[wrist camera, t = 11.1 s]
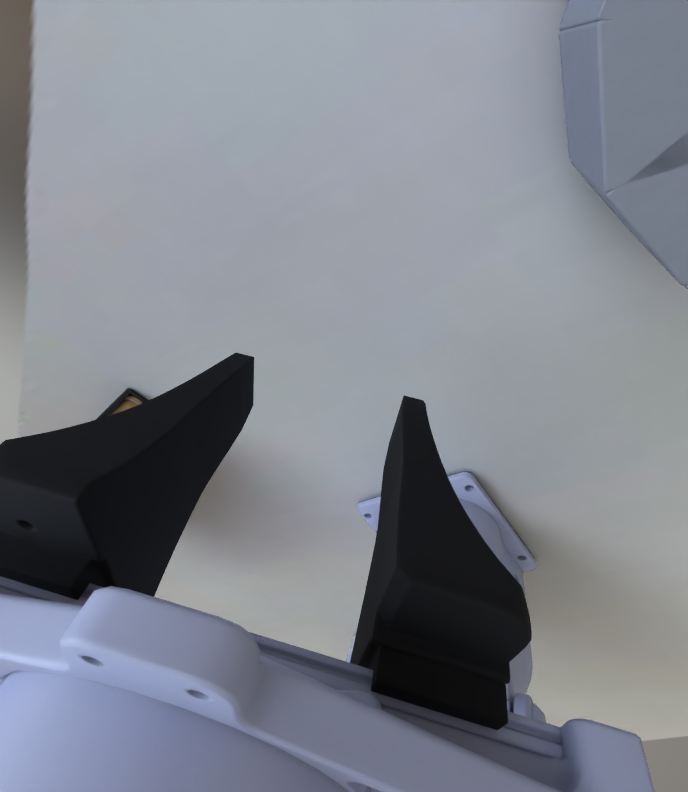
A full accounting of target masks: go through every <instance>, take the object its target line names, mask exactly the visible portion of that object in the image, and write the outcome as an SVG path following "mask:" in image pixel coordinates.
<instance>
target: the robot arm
mask: <svg viewBox="0 0 688 792" xmlns="http://www.w3.org/2000/svg"><path fill="white" fill-rule="evenodd" d="M253 383H254V357H251V356H247V355H243V354H239V353H235V354H233V355H231V356H229V357H228V358H226V359H224V360H223V361H221V362H219V363H218V364H216V365H214V366H213V367H211V368H209V369H208V370H206V371H204V372H203V373H201V374H199V375H197V376H196V377H194V378H192V379H191V380H189V381H187V382H185V383H183V384H181V385H179V386H177V387H175V388H174V389H172V390H170V391H168V392H166V393H164V394H162V395H160V396H158V397H156V398H153V399H151V400H149V401H147V402H144V403H142V404H139V405H137V406H134V407H132V408H129V409H127V410H124V411H121V412H118V413H115V414H112V415H109V416H106V417H103V418H100V419H97V420H94V421H91V422H87V423H84V424H80V425H76V426H72V427H68V428H64V429H60V430H56V431H51V432H47V433H42V434H37V435H31V436H26V437H21V438H15V439H9V440H5V441H4V442H3V443H2V444H0V792H654V788H653V784H652V781H651V777H650V773H649V769H648V765H647V761H646V758H645V753H644V750H643V746H642V742H641V738H640V737H639V736H637V735H636V734H634V733H631V732H628V731H625V730H621V729H618V728H615V727H611V726H608V725H605V724H602V723H598V722H595V721H591V720H586V719H572V720H569V721H567V722H566V723H565V724H564V725H563V726H562V727H558V726H554V725H551V724H548V723H546V719H545V715H544V713H543V712H542V711H541V710H540V709H539V707H538V706H537V705H536V704H533V701H532V698H531V697H530V696H529V695H527V694H525V693H526V691H527V689H528V687H529V684H530V680H531V675H532V655H531V646H530V641H531V623H530V616H529V612H528V608H527V603H526V599H525V592H524V584H523V575H522V572H526V571H532V570H534V569H536V567H537V564H536V560H535V559H534V558H533V556H532V555H531V554H530V552H529V551H528V550H527V548H526V547H525V545H524V544H523V543H522V541H521V540H520V539H519V537H518V536H517V535H516V533H515V532H514V530H513V529H512V528H511V526H510V525H509V524H508V522H507V521H506V520H505V518H504V517H503V515H502V514H501V513H500V511H499V510H498V509H497V507H496V506H495V505H494V503H493V502H492V500H491V499H490V498H489V496H488V495H487V494H486V492H485V491H484V490H483V488H482V487H481V485H480V484H479V483H478V481H477V480H476V479H475V477H474V476H473V475H472V474H470V473H468V472H461V473H458V474H454V475H451V476H447V474H446V472H445V469H444V467H443V464H442V462H441V459H440V457H439V454H438V451H437V448H436V445H435V442H434V439H433V436H432V432H431V429H430V425H429V421H428V416H427V411H426V405H425V403H424V401H423V400H419V399H415V398H411V397H408V396H404V397H403V400H402V403H401V407H400V410H399V413H398V416H397V420H396V423H395V426H394V429H393V432H392V436H391V439H390V442H389V447H388V451H387V456H386V461H385V465H384V471H383V481H382V490H381V496H380V497H376V498H373V499H370V500H366V501H363V502H360V503H358V505H357V508H356V510H357V512H358V513H359V514H360V515H361V516H362V517H363V518H364V520H365V521H366V522H367V523H368V524H369V525H370V526H371V527H372V528H373V529H374V530H375V531H376V532H377V536H376V542H375V547H374V552H373V557H372V562H371V567H370V572H369V576H368V581H367V586H366V591H365V595H364V600H363V605H362V609H361V614H360V619H359V623H358V628H357V633H356V637H355V642H354V646H353V651H352V654H348V655H347V659H346V662H345V661H342V660H339V659H335V658H332V657H329V656H326V655H322V654H319V653H316V652H313V651H309V650H306V649H303V648H300V647H296V646H293V645H290V644H286V643H283V642H280V641H277V640H273V639H270V638H267V637H264V636H260V635H257V634H254V633H251V632H248V631H246V630H245V629H244V628H242V627H241V626H240V625H237V624H235V623H233V622H230V621H228V620H226V619H223V618H221V617H218V616H215V615H211V614H208V613H205V612H202V611H198V610H195V609H192V608H188V607H185V606H182V605H179V604H175V603H172V602H169V601H166V600H162V599H159V598H156V597H154V595H155V593H156V591H157V588H158V586H159V583H160V581H161V579H162V576H163V574H164V572H165V569H166V567H167V565H168V563H169V560H170V558H171V556H172V554H173V551H174V549H175V547H176V545H177V543H178V540H179V538H180V536H181V534H182V532H183V530H184V528H185V526H186V524H187V522H188V519H189V517H190V515H191V513H192V511H193V509H194V507H195V505H196V503H197V501H198V499H199V497H200V495H201V494H202V492H203V490H204V488H205V487H206V485H207V483H208V481H209V480H210V478H211V477H212V475H213V474H214V472H215V471H216V469H217V468H218V466H219V464H220V463H221V461H222V460H223V458H224V457H225V455H226V454H227V452H228V451H229V449H230V447H231V446H232V444H233V443H234V441H235V440H236V438H237V436H238V435H239V433H240V432H241V430H242V428H243V426H244V424H245V422H246V420H247V417H248V415H249V413H250V411H251V409H252V406H253ZM467 485H470V486H467Z"/></svg>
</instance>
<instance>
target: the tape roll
mask: <svg viewBox="0 0 688 792" xmlns="http://www.w3.org/2000/svg"><path fill="white" fill-rule="evenodd" d="M559 29H560V30H561V31H560V34H559V40H560V52H561V64H562V76H563V88H564V100H565V112H566V124H567V136H568V148H569V158H570V159H571V163H572V164H573V165H574V167H575V168H576V169H577V170H578V171H579V172H580V174H581V175H582V176H583V177H584V178H585V179H586V180H587V182H588V183H589V184H590V185H591V186H592V187H593V189H594V190H595V191H596V192H597V193H598V194H599V196H600V197H601V198H602V199H603V200H604V201H605V202H606V204H607V205H608V206H609V207H610V208H611V209H612V211H613V212H614V213H615V214H616V215H617V216H618V217H619V219H620V220H621V221H622V222H623V223H624V224H625V226H626V227H627V228H628V229H629V230H630V231H631V232H632V234H633V235H634V236H635V237H636V238H637V239H638V240H639V241H640V242H641V243H642V244H643V245H644V246H645V247H646V248H647V249H648V250H649V252H650V253H651V254H652V255H653V256H654V257H655V258H656V259H657V260H658V261H659V262H660V263H661V264H662V265H663V266H664V267H665V268H666V270H667V271H668V272H669V273H670V274H671V275H672V276H673V277H674V278H675V279H676V280H677V281H678V282H679V283H680V284H681V285H683V286H684V287H686V288H687V289H688V0H569V2H568V5H567V8H566V11H565V13H564V16H563V19H562V22H561V25H560V28H559Z"/></svg>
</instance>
